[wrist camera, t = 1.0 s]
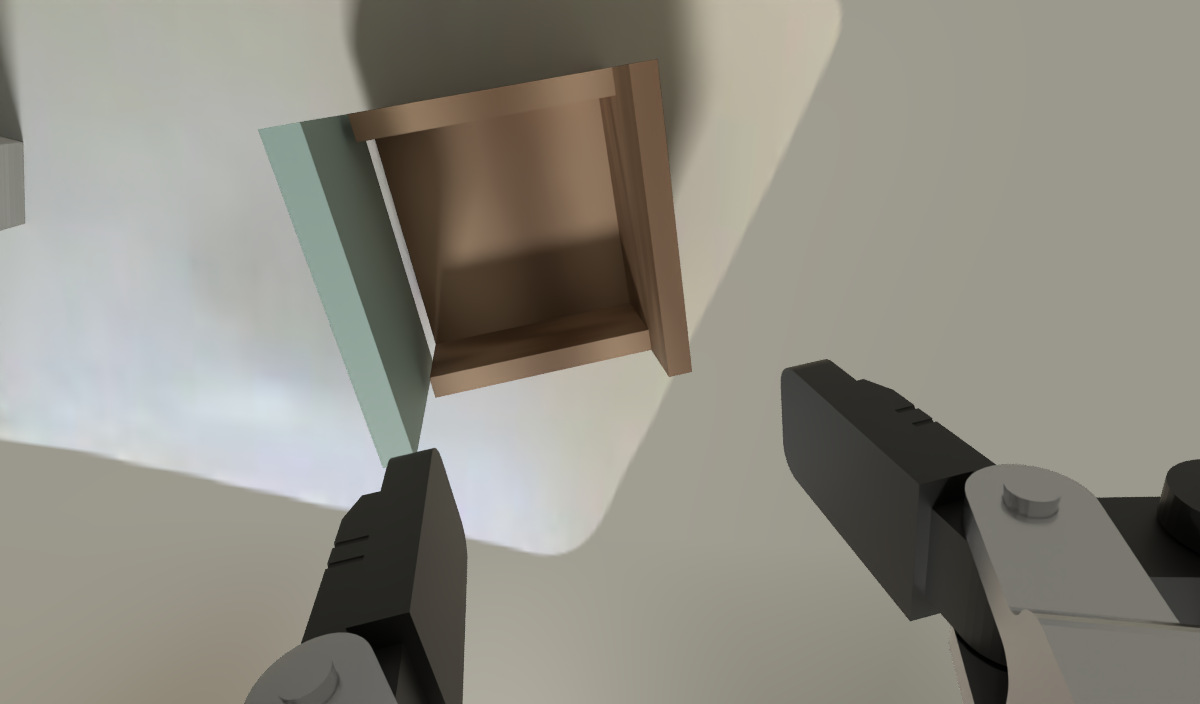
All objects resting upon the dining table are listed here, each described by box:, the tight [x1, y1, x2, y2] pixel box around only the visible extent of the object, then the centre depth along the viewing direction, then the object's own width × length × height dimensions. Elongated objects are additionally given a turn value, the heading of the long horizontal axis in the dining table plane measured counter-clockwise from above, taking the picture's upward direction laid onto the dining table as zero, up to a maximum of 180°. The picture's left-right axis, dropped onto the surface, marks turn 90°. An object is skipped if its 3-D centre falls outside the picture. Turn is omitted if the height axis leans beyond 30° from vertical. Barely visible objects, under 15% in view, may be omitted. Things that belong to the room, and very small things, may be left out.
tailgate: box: [258, 114, 433, 468], centre depth 25 cm, size 1×12×10 cm, turn 10°
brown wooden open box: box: [348, 59, 692, 397], centre depth 27 cm, size 11×12×10 cm
